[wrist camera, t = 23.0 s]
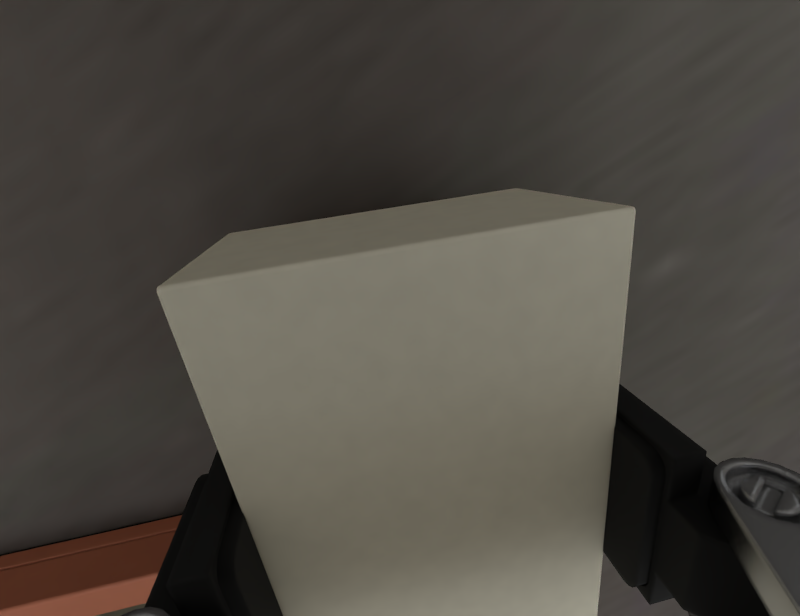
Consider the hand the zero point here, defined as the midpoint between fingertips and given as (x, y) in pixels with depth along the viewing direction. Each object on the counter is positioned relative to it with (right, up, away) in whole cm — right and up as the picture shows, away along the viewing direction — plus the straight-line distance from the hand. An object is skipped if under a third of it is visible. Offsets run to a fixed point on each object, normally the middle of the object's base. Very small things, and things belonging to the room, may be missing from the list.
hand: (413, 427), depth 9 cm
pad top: (0, 0, +1) cm, 1 cm away
